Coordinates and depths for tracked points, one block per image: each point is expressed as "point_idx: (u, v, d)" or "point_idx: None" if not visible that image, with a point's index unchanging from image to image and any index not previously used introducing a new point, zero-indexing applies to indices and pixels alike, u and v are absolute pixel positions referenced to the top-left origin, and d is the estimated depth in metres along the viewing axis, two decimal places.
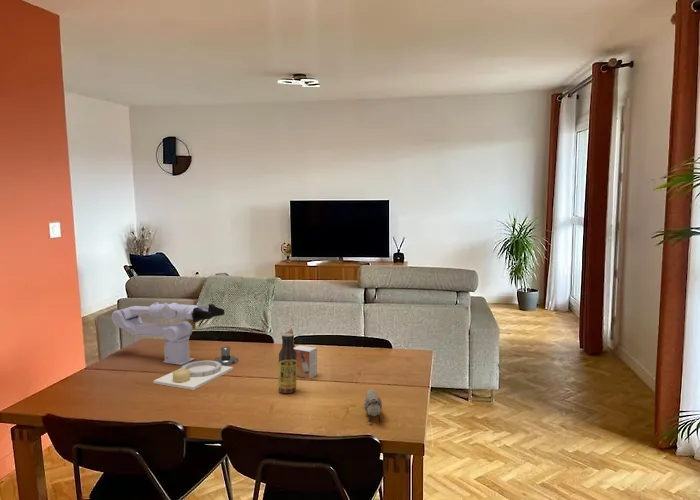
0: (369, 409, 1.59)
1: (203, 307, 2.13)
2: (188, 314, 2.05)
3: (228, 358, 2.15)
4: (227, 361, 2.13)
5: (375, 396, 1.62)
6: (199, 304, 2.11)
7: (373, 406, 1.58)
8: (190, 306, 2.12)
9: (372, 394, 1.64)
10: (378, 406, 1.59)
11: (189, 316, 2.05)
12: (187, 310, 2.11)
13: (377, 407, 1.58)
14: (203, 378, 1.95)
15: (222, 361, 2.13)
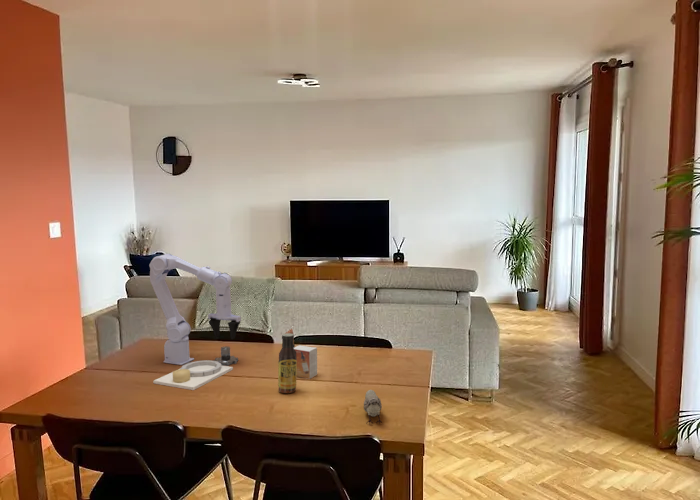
0: (369, 409, 1.59)
1: None
2: (240, 319, 2.12)
3: (228, 358, 2.15)
4: (227, 361, 2.13)
5: (375, 396, 1.62)
6: None
7: (373, 406, 1.58)
8: None
9: (372, 394, 1.64)
10: (378, 406, 1.59)
11: (239, 320, 2.11)
12: (230, 307, 2.14)
13: (377, 407, 1.58)
14: (203, 378, 1.95)
15: (222, 361, 2.13)
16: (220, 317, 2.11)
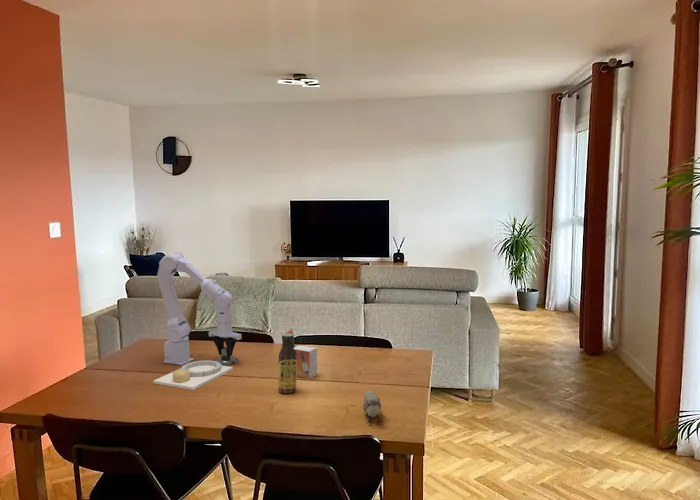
0: (368, 410, 1.58)
1: None
2: (240, 336, 2.13)
3: (228, 358, 2.15)
4: (227, 361, 2.13)
5: (374, 397, 1.62)
6: None
7: (373, 407, 1.57)
8: None
9: (371, 395, 1.63)
10: (377, 407, 1.58)
11: (239, 338, 2.12)
12: (231, 324, 2.15)
13: (377, 408, 1.58)
14: (203, 378, 1.95)
15: (222, 361, 2.13)
16: (221, 335, 2.12)
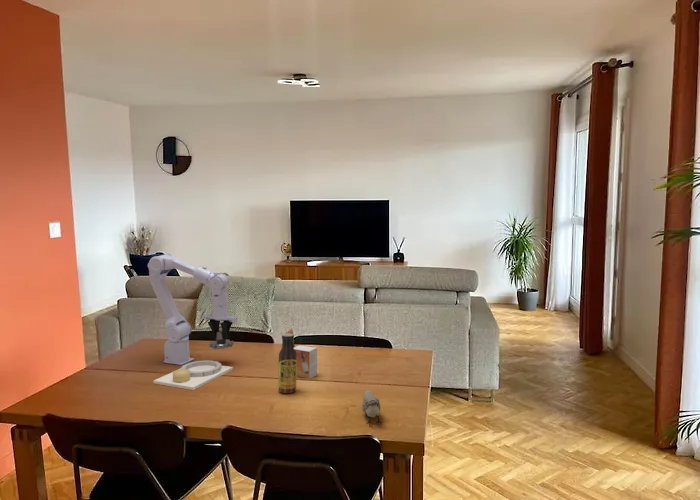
0: (368, 410, 1.58)
1: None
2: (236, 319, 2.10)
3: (223, 341, 2.12)
4: (222, 344, 2.10)
5: (373, 397, 1.62)
6: None
7: (372, 407, 1.57)
8: None
9: (370, 395, 1.63)
10: (377, 407, 1.58)
11: (235, 321, 2.09)
12: None
13: (376, 408, 1.58)
14: (203, 378, 1.95)
15: (217, 344, 2.11)
16: (216, 318, 2.09)
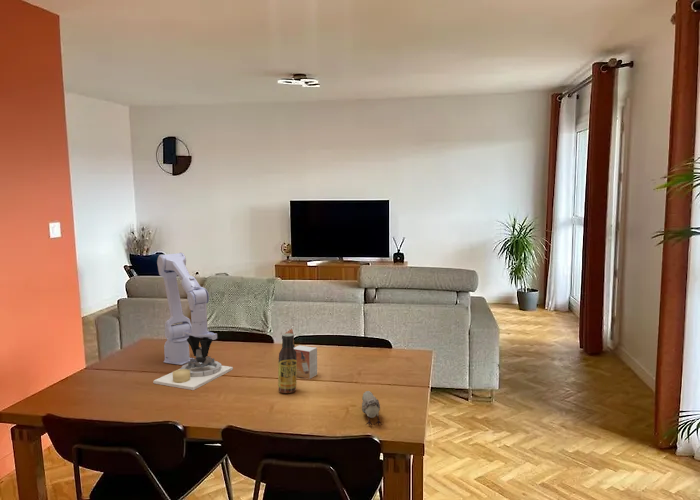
0: (368, 411, 1.58)
1: None
2: (216, 336, 2.00)
3: (203, 359, 2.02)
4: (202, 362, 2.01)
5: (373, 397, 1.61)
6: None
7: (372, 408, 1.57)
8: None
9: (370, 395, 1.63)
10: (377, 407, 1.58)
11: (215, 338, 1.99)
12: (206, 323, 2.02)
13: (376, 408, 1.57)
14: (203, 378, 1.95)
15: (197, 363, 2.01)
16: (195, 335, 1.99)
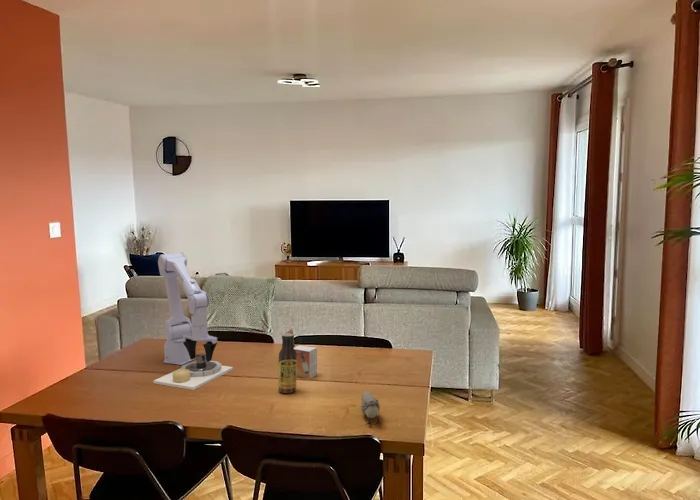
0: (368, 411, 1.57)
1: None
2: (216, 340, 2.00)
3: (204, 366, 2.03)
4: (202, 369, 2.01)
5: (373, 398, 1.61)
6: None
7: (372, 408, 1.56)
8: None
9: (369, 396, 1.63)
10: (377, 408, 1.58)
11: (215, 342, 2.00)
12: (206, 327, 2.02)
13: (376, 409, 1.57)
14: (203, 378, 1.95)
15: (197, 369, 2.01)
16: (195, 338, 2.00)
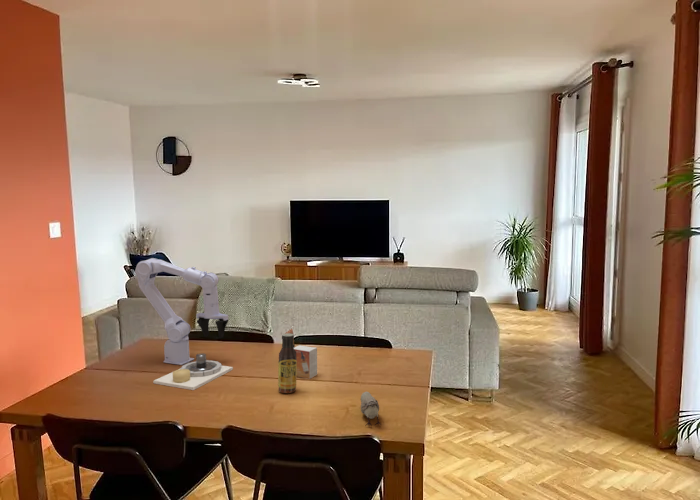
0: (367, 411, 1.57)
1: None
2: (227, 317, 2.12)
3: (204, 366, 2.03)
4: (202, 369, 2.01)
5: (372, 398, 1.61)
6: None
7: (372, 408, 1.56)
8: None
9: (369, 396, 1.62)
10: (376, 408, 1.57)
11: (226, 319, 2.12)
12: (218, 306, 2.14)
13: (375, 409, 1.57)
14: (203, 378, 1.95)
15: (197, 369, 2.01)
16: (208, 316, 2.12)
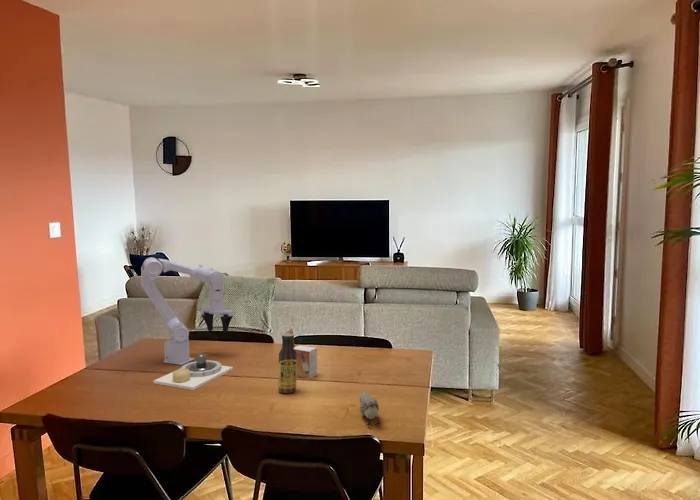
0: (367, 412, 1.57)
1: None
2: (232, 313, 2.21)
3: (204, 366, 2.03)
4: (202, 369, 2.01)
5: (372, 399, 1.60)
6: None
7: (371, 409, 1.56)
8: None
9: (368, 397, 1.62)
10: (376, 409, 1.57)
11: (231, 314, 2.20)
12: (223, 302, 2.22)
13: (375, 410, 1.57)
14: (203, 378, 1.95)
15: (197, 369, 2.01)
16: (213, 311, 2.20)
